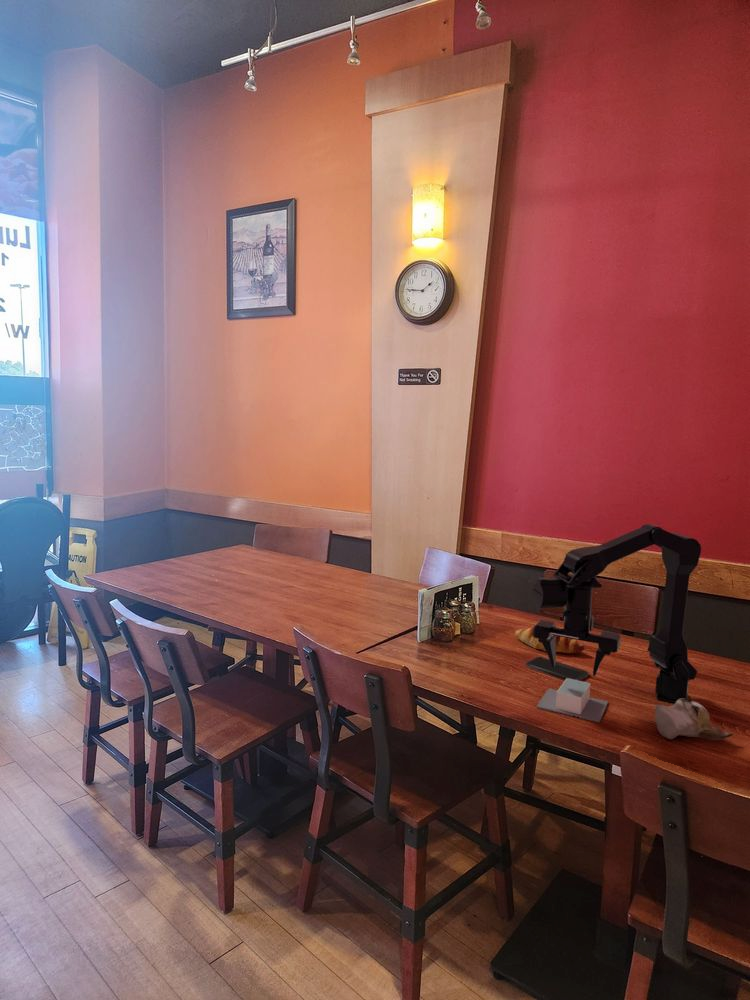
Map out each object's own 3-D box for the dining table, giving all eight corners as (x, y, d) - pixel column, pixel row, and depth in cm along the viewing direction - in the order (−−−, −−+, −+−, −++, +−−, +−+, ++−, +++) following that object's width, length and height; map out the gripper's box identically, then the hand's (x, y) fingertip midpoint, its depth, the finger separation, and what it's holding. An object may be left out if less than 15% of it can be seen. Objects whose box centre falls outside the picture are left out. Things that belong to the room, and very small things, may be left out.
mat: (607, 703, 154) (608, 701, 154) (599, 722, 144) (599, 720, 144) (548, 689, 161) (548, 688, 161) (536, 707, 151) (536, 706, 151)
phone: (575, 681, 164) (524, 663, 175) (575, 685, 164) (523, 667, 175) (590, 672, 170) (539, 655, 180) (590, 676, 170) (539, 659, 180)
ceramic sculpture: (644, 686, 143) (706, 687, 145) (638, 723, 144) (700, 723, 146) (672, 709, 132) (739, 710, 135) (666, 749, 134) (732, 749, 136)
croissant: (510, 652, 194) (505, 632, 190) (523, 629, 201) (518, 609, 197) (580, 669, 181) (576, 648, 178) (592, 643, 188) (588, 623, 184)
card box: (580, 714, 147) (581, 697, 147) (555, 708, 150) (556, 691, 150) (589, 699, 155) (590, 683, 154) (565, 693, 158) (566, 677, 157)
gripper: (626, 603, 152) (621, 667, 154) (545, 591, 160) (542, 651, 163) (619, 616, 142) (614, 684, 144) (533, 602, 151) (530, 667, 153)
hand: (573, 671), depth 151 cm, fingers open, 9 cm apart
